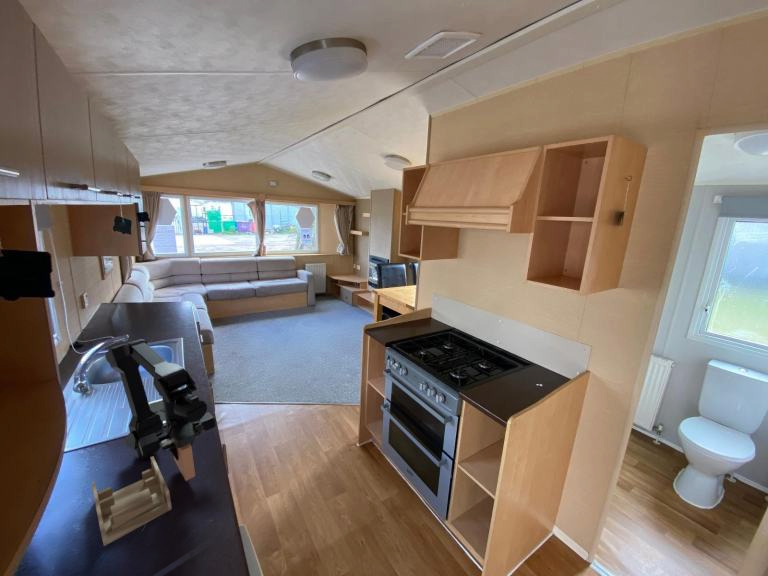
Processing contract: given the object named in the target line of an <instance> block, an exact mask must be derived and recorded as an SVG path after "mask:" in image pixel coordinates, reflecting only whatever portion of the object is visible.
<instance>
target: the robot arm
mask: <svg viewBox="0 0 768 576" xmlns="http://www.w3.org/2000/svg"><path fill="white" fill-rule="evenodd" d="M105 359H106V361H107V363H109V365H110V368H111V369H113V370H115V371H116V372H118V373H119V375H120V378H121V382H122V386H123V388H124V392H125V395H126V399H127V402H128V406H129V409H130V411H131V412H130V413H131V419H130V421H129V423H128V430H129V433H128V434H127V435H126V438H125V439H124V441H125V443H126V445H127V447H129V448H131V449H132V450H134V451H135V455H136V456H135V457H136V459H137V460H138V461H143V462H148V461H151V458H150V457H154V458H155V457H156V455H157V454H158V451H159V450H160V449H162V451H167V450H168V451H170V453H171V454H172V455H173V458H174V457H175V458H176V460H179V459H178V454H177V451H176V448H175V444H176V447H177V448H182V447H183V446H185V445H187V444H190V445H191V447H193V443H194V442H195V441H196V440H197V438H198V437H199V436H201V434H202V433H203V432H204V431H208V430H212V429H214V428H216V426H217V420H216V418H215V416H214V415H213V414H212V413H211V412H210V411H209V412H207V410H208V405H207V403H206V401H204V400H202V399H199V398H200V397H199V396H198V395H193V392H195V391H197V389H198V388H197V386H196V382H195V381H194V379H193V378H192V376H191V375H190V373H189V372H188V371H187V369H185V368H184V367H182V366H181V365H180V364H178V363H172V362H168V361H167V360H165V359H164V358H163V357H162V356H161V355H160V354H159V353H157V352H156V351H155V350H154V349H153V348H152V347H150V345H148V342H147V340H146V339H144V338H143V339H141V338H140V339H136V340H132V341H128V342H125V343H122V344H118V345H115V346H111V347H109V348H108V351H106V352H105ZM140 366H141V367H142V368H143V369H144V370H145V371H146V372H148V373H149V375H150V376H152V378H153V381H152V382H153V383H152V384H153V386H154V388H155V390H156V391H157V393H158V395H159V396H160V397H161V399H163V406H164V413H165V420H166V426H165V427H166V433H164V426H163V421H162V420H161V419H160V415H158V414H156V413H154V412H153V411H151V409H150V406H149V403H148V402H149V400H148V396H147V392H146V389H145V385H144V383H143V379H142V375H141V373H140V372H141V371H140V369H139V368H140ZM182 387H183V388H182ZM180 388H181V389H180ZM203 430H204V431H203ZM163 433H164V434H163ZM173 439H174V442H175V444H174V442H173Z"/></svg>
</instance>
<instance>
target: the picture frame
mask: <svg viewBox="0 0 768 576" xmlns="http://www.w3.org/2000/svg"><path fill="white" fill-rule="evenodd" d="M148 403H149V406H150V409H151V411H153V412H154V413H156V414H158V415H160V419H161V420H162V421H163V427H166V420H165V413H164V406H163V399H162V398H160V399H156V400H152V401H150V402H149V401H148Z"/></svg>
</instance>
